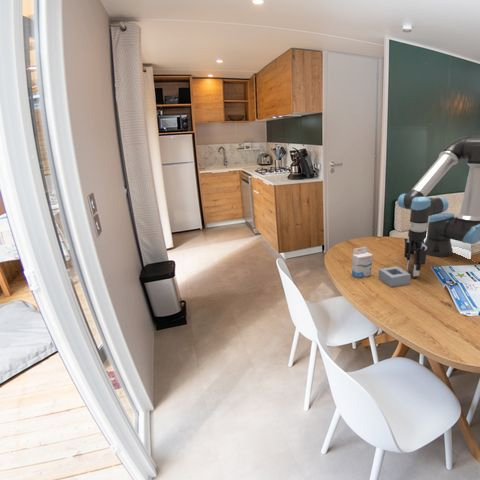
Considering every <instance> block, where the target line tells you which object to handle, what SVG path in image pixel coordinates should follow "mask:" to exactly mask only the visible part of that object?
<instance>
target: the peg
mask: <svg viewBox="0 0 480 480" xmlns="http://www.w3.org/2000/svg"><path fill="white" fill-rule="evenodd" d="M415 263H416V257H415V252H414V253H411V254H410V260H409V269H408V272H407V273H409V274H411V276H410V279H417V277H418V276H413V270H414V264H415Z"/></svg>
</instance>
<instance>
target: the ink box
mask: <svg viewBox="0 0 480 480" xmlns="http://www.w3.org/2000/svg"><path fill="white" fill-rule="evenodd" d="M373 257H374V255H373V254H372V253H370V252H368V246H362V247H357V248H356V247H355V248H353V250H352V266H351V275H352V276H353V277H355V278H357V279H358V278H363V277H369V276H372V269H373Z"/></svg>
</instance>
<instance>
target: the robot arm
mask: <svg viewBox="0 0 480 480" xmlns="http://www.w3.org/2000/svg"><path fill="white" fill-rule="evenodd" d="M462 160H463V161H465V160H467V162H466V164H467V165H468V167H469V170H468V175H467V180H466V182H465V183H466V184H465V189H464V193H463V196H462V203H461V207H460V211H459V213H458V214H456V215H455V214H454V213H453V212H452V213H451V212H446V211H447V210H448V208H449V202H448V199H446V198H444V197H442V196H440V197H439V196H438V197H427V195H428V194H429V193H430V192H431V191H432V190H433V188H434V187H435V186H436V185H437V184H438V183H439V182H440V181H441V179H442V178H443V177H444V176H445V174H447V172H448V171H449V170H450V169H451V168H452V166H455V165H457V164H458V163H459V162H460V161H462ZM397 205H398V207H399V208H401V209H405V210H410V213H409V215H410V216H409V225H408V234H407V236H408V237H407V238H404V243H405V244H404V254H403V255H404V258H406V260H407V261H406V272H407V273H408V269H409V260H410V254H411V253H415V257H416V263H415V264H414V270H413V276H417V277H419V276H420V271H421V266H423V265H425V264H426V259H427V255H429V256H432V257H439V258H440V257H443V258H445V257H449V256H452V255H453V252H454V251H453V246H452V242H451V240H453V241H457V242H461V243H464V244H470V245H475V244H477V243H478V242H480V135H465V136H462V137H459V138H457V139H455V140H453V141H452V142H450V143H449V144H448V145H447V146H445V147H444V148H443V149H442V151H440V153H439V154H438V158H437V159H436V161H434V163H433V164H432V165H431V166H430V167H429V168H428V170H427V171H426V172H425V173H424V174H423V176H422V177H421V178H420V179H419V180H418V182H417V183H416V184H415V185H414V187H412V189H411V190H410V191H409V192H408V193H401V194H400V195H399V196H398V198H397Z"/></svg>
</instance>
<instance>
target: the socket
mask: <svg viewBox="0 0 480 480" xmlns="http://www.w3.org/2000/svg"><path fill="white" fill-rule="evenodd" d="M410 276H411V274H409V273H408V272H407V270H404V269H403V268H401V267H399V266H396V265H395V266H390V267H384V268H379V269H378V279H379V280H380V281H382V282H383V283H384V284H386V285H387V286H389V287H390V288H392V287H393V288H394V287H400V286H404V285H409V284H410V283H411V278H410Z"/></svg>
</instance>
